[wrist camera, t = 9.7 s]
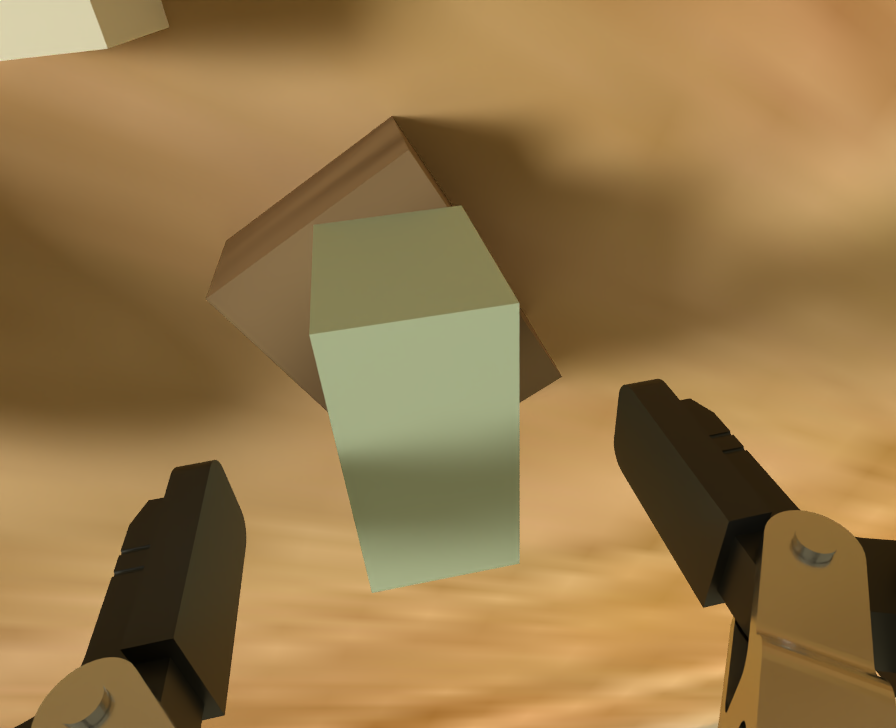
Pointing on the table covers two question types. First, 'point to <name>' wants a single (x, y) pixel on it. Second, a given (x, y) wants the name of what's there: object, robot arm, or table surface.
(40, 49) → the cream brick
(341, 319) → the sage brick
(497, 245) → the table surface
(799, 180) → the table surface
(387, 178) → the walnut brick
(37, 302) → the table surface
